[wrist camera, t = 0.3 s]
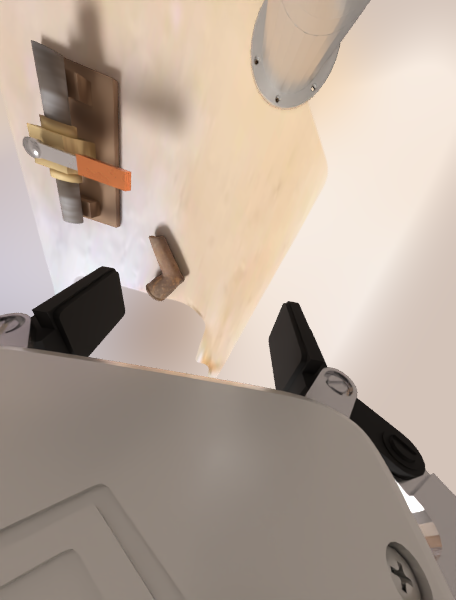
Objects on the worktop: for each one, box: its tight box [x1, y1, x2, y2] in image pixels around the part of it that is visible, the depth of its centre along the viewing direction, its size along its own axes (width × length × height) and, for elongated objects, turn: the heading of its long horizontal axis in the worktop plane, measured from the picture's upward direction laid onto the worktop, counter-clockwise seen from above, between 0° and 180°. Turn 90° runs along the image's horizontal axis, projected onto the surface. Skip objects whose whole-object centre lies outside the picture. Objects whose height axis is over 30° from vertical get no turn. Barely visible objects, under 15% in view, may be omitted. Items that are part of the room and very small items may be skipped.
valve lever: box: [23, 137, 131, 191], centre depth 28 cm, size 3×15×2 cm, turn 72°
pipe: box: [146, 236, 185, 301], centre depth 47 cm, size 6×17×10 cm
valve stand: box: [27, 40, 120, 228], centre depth 32 cm, size 24×12×10 cm, turn 162°
